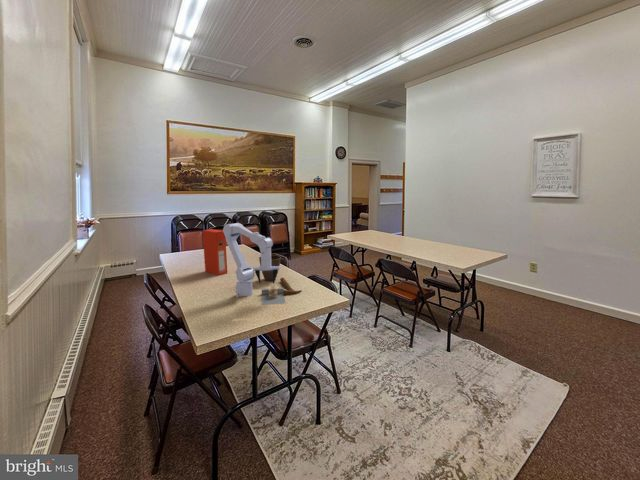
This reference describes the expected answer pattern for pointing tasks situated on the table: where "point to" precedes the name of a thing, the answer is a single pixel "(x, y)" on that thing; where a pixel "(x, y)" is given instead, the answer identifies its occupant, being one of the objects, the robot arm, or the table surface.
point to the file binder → (215, 251)
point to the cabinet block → (272, 291)
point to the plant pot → (274, 262)
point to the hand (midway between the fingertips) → (266, 282)
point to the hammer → (288, 288)
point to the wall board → (273, 300)
